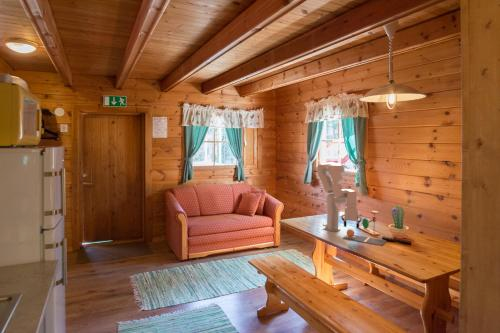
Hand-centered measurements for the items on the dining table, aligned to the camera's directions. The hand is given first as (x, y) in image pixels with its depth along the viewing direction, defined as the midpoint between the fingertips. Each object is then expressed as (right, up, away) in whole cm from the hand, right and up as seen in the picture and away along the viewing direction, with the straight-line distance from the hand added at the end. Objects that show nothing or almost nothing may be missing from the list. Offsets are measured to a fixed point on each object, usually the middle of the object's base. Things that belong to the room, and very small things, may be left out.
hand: (351, 227), depth 267 cm
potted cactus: (+39, -9, +5) cm, 41 cm away
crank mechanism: (+20, -7, +19) cm, 29 cm away
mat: (+9, -9, -4) cm, 13 cm away
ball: (0, -5, +1) cm, 5 cm away
